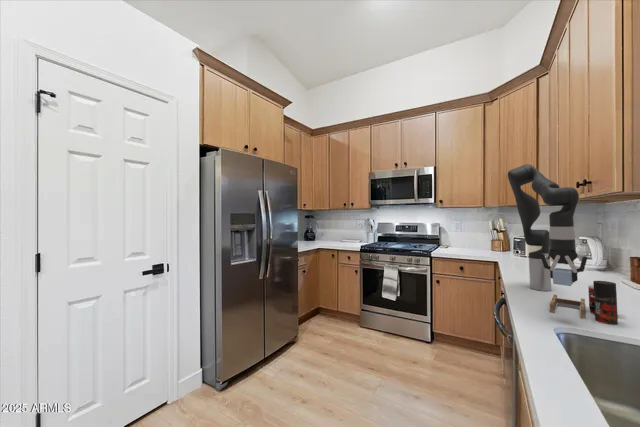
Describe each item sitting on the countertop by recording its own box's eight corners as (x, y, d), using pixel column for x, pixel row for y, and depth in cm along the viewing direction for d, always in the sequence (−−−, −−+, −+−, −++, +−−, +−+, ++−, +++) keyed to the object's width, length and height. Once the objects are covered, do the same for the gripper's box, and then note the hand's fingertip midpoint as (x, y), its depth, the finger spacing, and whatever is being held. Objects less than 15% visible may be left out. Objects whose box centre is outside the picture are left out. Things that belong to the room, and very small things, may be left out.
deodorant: (591, 319, 103) (589, 281, 103) (600, 317, 104) (599, 280, 105) (612, 325, 97) (610, 284, 97) (621, 323, 99) (619, 283, 99)
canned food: (591, 309, 114) (590, 283, 114) (619, 314, 108) (617, 287, 108) (587, 313, 110) (586, 286, 110) (615, 318, 103) (614, 290, 103)
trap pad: (558, 303, 122) (558, 302, 123) (579, 306, 117) (579, 305, 117) (557, 305, 119) (557, 305, 119) (579, 309, 114) (579, 308, 114)
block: (556, 280, 107) (555, 267, 107) (573, 282, 103) (572, 269, 103) (553, 283, 102) (552, 271, 102) (570, 286, 98) (570, 272, 98)
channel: (554, 301, 125) (553, 294, 125) (585, 306, 117) (584, 298, 117) (550, 312, 111) (549, 304, 112) (584, 318, 104) (584, 309, 104)
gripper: (537, 238, 106) (539, 280, 106) (587, 239, 96) (590, 285, 96) (539, 236, 111) (541, 276, 111) (587, 237, 101) (589, 281, 101)
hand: (563, 280), depth 103 cm, fingers closed on block, 5 cm apart
